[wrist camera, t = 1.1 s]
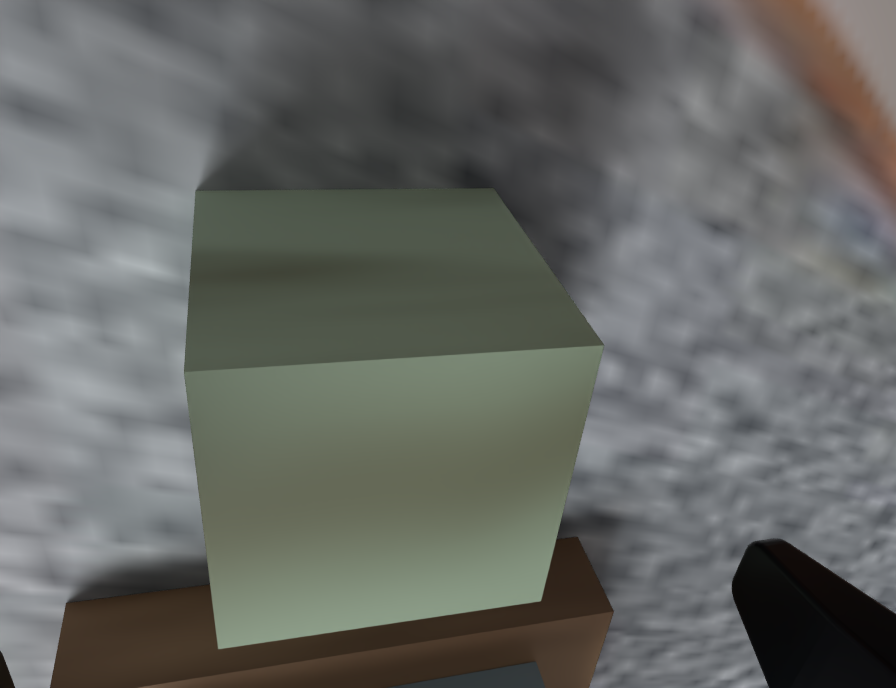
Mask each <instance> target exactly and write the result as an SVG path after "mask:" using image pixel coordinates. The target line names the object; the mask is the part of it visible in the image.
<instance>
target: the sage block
mask: <svg viewBox="0 0 896 688" xmlns="http://www.w3.org/2000/svg"><path fill="white" fill-rule="evenodd" d="M603 348H604V344H603V343H602V341H601V340H600V339H599V337H598V336H597V334H596V333H595V332H594V330H593V329H592V327H591V326H590V324H589V323H588V322H587V320H586V319H585V317H584V316H583V315H582V313H581V312H580V310H579V309H578V307H577V306H576V305H575V303H574V302H573V300H572V299H571V298H570V296H569V295H568V293H567V292H566V290H565V289H564V288H563V286H562V285H561V283H560V282H559V280H558V279H557V278H556V276H555V275H554V273H553V272H552V271H551V269H550V268H549V266H548V265H547V263H546V262H545V261H544V259H543V258H542V256H541V255H540V254H539V252H538V251H537V249H536V248H535V246H534V245H533V244H532V242H531V241H530V239H529V238H528V237H527V235H526V234H525V232H524V231H523V229H522V228H521V227H520V225H519V224H518V222H517V221H516V220H515V218H514V217H513V215H512V214H511V212H510V211H509V210H508V208H507V207H506V205H505V204H504V202H503V201H502V200H501V198H500V197H499V195H498V194H497V193H496V191H495V190H494V188H448V189H331V190H214V191H196V192H195V207H194V223H193V239H192V254H191V270H190V286H189V301H188V317H187V333H186V348H185V364H184V376H185V384H186V392H187V401H188V409H189V417H190V425H191V433H192V441H193V449H194V457H195V465H196V473H197V482H198V490H199V498H200V506H201V514H202V522H203V530H204V538H205V546H206V554H207V562H208V571H209V579H210V587H211V595H212V603H213V611H214V619H215V627H216V635H217V643H218V649H224V648H231V647H237V646H244V645H251V644H257V643H264V642H271V641H278V640H284V639H291V638H298V637H304V636H311V635H318V634H324V633H331V632H338V631H345V630H351V629H358V628H365V627H371V626H378V625H385V624H391V623H398V622H405V621H412V620H418V619H425V618H432V617H438V616H445V615H452V614H458V613H465V612H472V611H479V610H485V609H492V608H499V607H505V606H512V605H519V604H525V603H532V602H539V601H541V599H542V595H543V591H544V587H545V583H546V579H547V575H548V571H549V567H550V563H551V559H552V554H553V550H554V546H555V542H556V538H557V534H558V530H559V526H560V522H561V518H562V514H563V510H564V506H565V502H566V498H567V494H568V490H569V486H570V482H571V478H572V473H573V469H574V465H575V461H576V457H577V453H578V449H579V445H580V441H581V437H582V433H583V429H584V425H585V421H586V417H587V413H588V409H589V405H590V401H591V397H592V393H593V388H594V384H595V380H596V376H597V372H598V368H599V364H600V360H601V356H602V352H603Z"/></svg>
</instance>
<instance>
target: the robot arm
mask: <svg viewBox="0 0 896 688" xmlns="http://www.w3.org/2000/svg"><path fill="white" fill-rule="evenodd" d="M732 594H733V598H734V601H735V604H736V606H737V609H738V611H739V614H740V616H741V619H742V621H743V624H744V626H745V629H746V631H747V634H748V636H749V639H750V641H751V644H752V646H753V649H754V651H755V654H756V656H757V659H758V661H759V664H760V666H761V669H762V671H763V674H764V676H765V679H766V681H767V684H768V686H769V688H896V614H895V613H894V612H892V611H891V610H889V609H888V608H886V607H885V606H883V605H882V604H880V603H879V602H877V601H876V600H874V599H872V598H871V597H869V596H868V595H866V594H865V593H863V592H862V591H860V590H859V589H857V588H856V587H854V586H853V585H851V584H850V583H848V582H847V581H845V580H844V579H842V578H841V577H839V576H838V575H836V574H835V573H833V572H832V571H830V570H829V569H827V568H826V567H824V566H823V565H821V564H820V563H818V562H817V561H815V560H814V559H812V558H811V557H809V556H808V555H806V554H805V553H803V552H802V551H800V550H799V549H797V548H796V547H794V546H793V545H791V544H790V543H788V542H786V541H784V540H782V539H767V540H759V541H754V542H752V543H751V544H749V545H748V547H747V549H746V551H745V553H744V555H743V558H742V560H741V562H740V564H739V566H738V569H737V571H736V573H735V575H734V578H733V581H732ZM0 688H15V686H14V683H13V681H12V678H11V675H10V673H9V670H8V667H7V665H6V662H5V660H4V657H3V654H2V653H1V651H0Z"/></svg>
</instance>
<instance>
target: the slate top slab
mask: <svg viewBox="0 0 896 688" xmlns="http://www.w3.org/2000/svg"><path fill="white" fill-rule="evenodd" d="M388 688H546V687H545V685H544V682H543V679H542V677H541V674H540V671H539V668H538V666H537V663H536V661H535V662H530V663H524V664H518V665H513V666H507V667H501V668H496V669H490V670H484V671H479V672H473V673H467V674H462V675H456V676H450V677H445V678H439V679H433V680H428V681H422V682H416V683H411V684H405V685H399V686H394V687H388Z"/></svg>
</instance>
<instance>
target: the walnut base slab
mask: <svg viewBox="0 0 896 688" xmlns="http://www.w3.org/2000/svg"><path fill="white" fill-rule="evenodd" d="M613 613H614V611H613V609H612V607H611V605H610V602H609V600H608V598H607V596H606V594H605V592H604V590H603V588H602V586H601V584H600V582H599V580H598V578H597V576H596V574H595V572H594V570H593V568H592V566H591V564H590V561H589V559H588V557H587V555H586V553H585V551H584V549H583V547H582V545H581V543H580V541H579V539H578V537H572V538H565V539H557V540H556V542H555V546H554V550H553V554H552V559H551V563H550V567H549V571H548V575H547V579H546V583H545V587H544V591H543V595H542V599H541V601H539V602H532V603H525V604H519V605H512V606H505V607H499V608H492V609H485V610H479V611H472V612H465V613H458V614H452V615H445V616H438V617H432V618H425V619H418V620H412V621H405V622H398V623H391V624H385V625H378V626H371V627H365V628H358V629H351V630H345V631H338V632H331V633H324V634H318V635H311V636H304V637H298V638H291V639H284V640H278V641H271V642H264V643H257V644H251V645H244V646H237V647H231V648H224V649H218V643H217V635H216V627H215V619H214V611H213V603H212V595H211V587H210V585H202V586H195V587H187V588H179V589H172V590H164V591H156V592H148V593H141V594H133V595H125V596H118V597H110V598H102V599H94V600H87V601H79V602H71V603H66V607H65V612H64V617H63V622H62V628H61V633H60V638H59V643H58V649H57V654H56V659H55V664H54V670H53V675H52V680H51V685H50V688H388V687H394V686H399V685H405V684H411V683H416V682H422V681H428V680H433V679H439V678H445V677H450V676H456V675H462V674H467V673H473V672H479V671H484V670H490V669H496V668H501V667H507V666H513V665H518V664H524V663H530V662H535V661H536V663H537V666H538V668H539V671H540V674H541V677H542V679H543V682H544V685H545V687H546V688H589V686H590V683H591V680H592V677H593V674H594V670H595V667H596V664H597V661H598V658H599V655H600V652H601V649H602V646H603V643H604V640H605V637H606V634H607V631H608V628H609V625H610V622H611V619H612V616H613Z"/></svg>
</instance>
